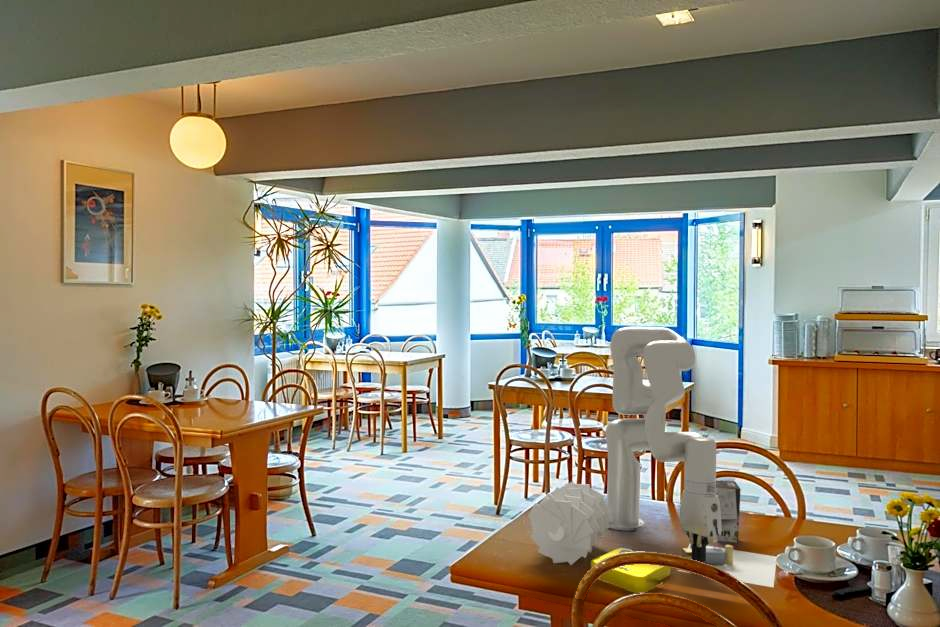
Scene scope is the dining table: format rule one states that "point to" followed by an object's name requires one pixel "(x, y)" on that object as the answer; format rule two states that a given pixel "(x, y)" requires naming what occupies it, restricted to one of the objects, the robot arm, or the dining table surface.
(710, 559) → the bar
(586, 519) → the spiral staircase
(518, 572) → the dining table surface
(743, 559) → the latch board
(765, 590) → the dining table surface
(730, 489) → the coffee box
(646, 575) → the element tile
